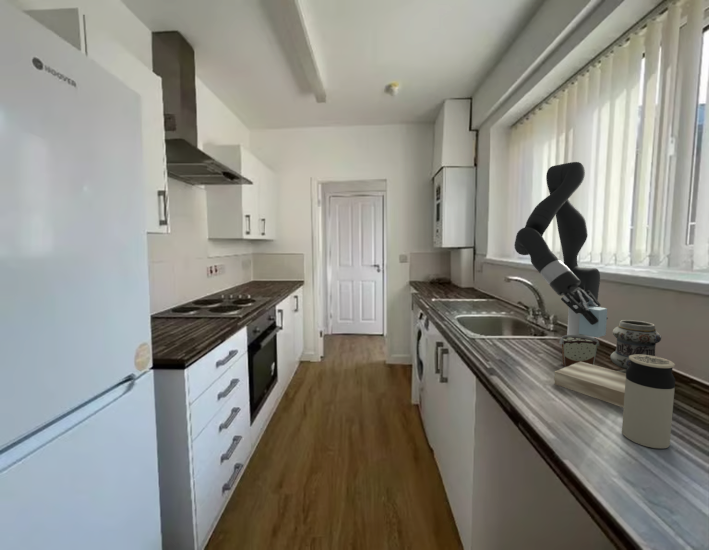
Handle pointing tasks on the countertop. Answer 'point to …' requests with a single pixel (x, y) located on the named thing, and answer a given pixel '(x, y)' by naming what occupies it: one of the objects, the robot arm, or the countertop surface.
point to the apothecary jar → (633, 341)
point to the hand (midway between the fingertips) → (600, 321)
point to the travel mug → (648, 401)
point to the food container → (578, 349)
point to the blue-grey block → (597, 328)
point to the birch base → (593, 382)
